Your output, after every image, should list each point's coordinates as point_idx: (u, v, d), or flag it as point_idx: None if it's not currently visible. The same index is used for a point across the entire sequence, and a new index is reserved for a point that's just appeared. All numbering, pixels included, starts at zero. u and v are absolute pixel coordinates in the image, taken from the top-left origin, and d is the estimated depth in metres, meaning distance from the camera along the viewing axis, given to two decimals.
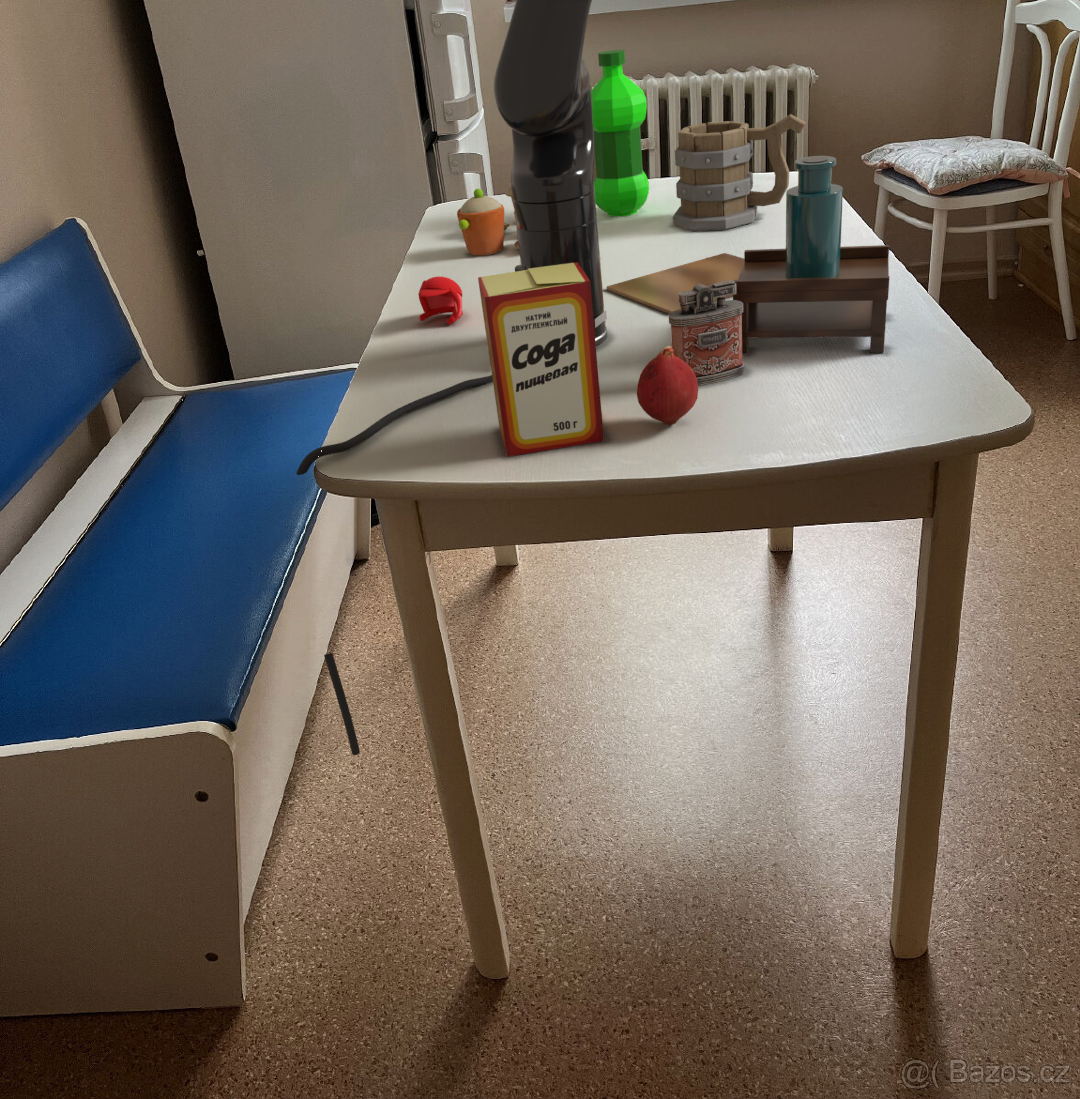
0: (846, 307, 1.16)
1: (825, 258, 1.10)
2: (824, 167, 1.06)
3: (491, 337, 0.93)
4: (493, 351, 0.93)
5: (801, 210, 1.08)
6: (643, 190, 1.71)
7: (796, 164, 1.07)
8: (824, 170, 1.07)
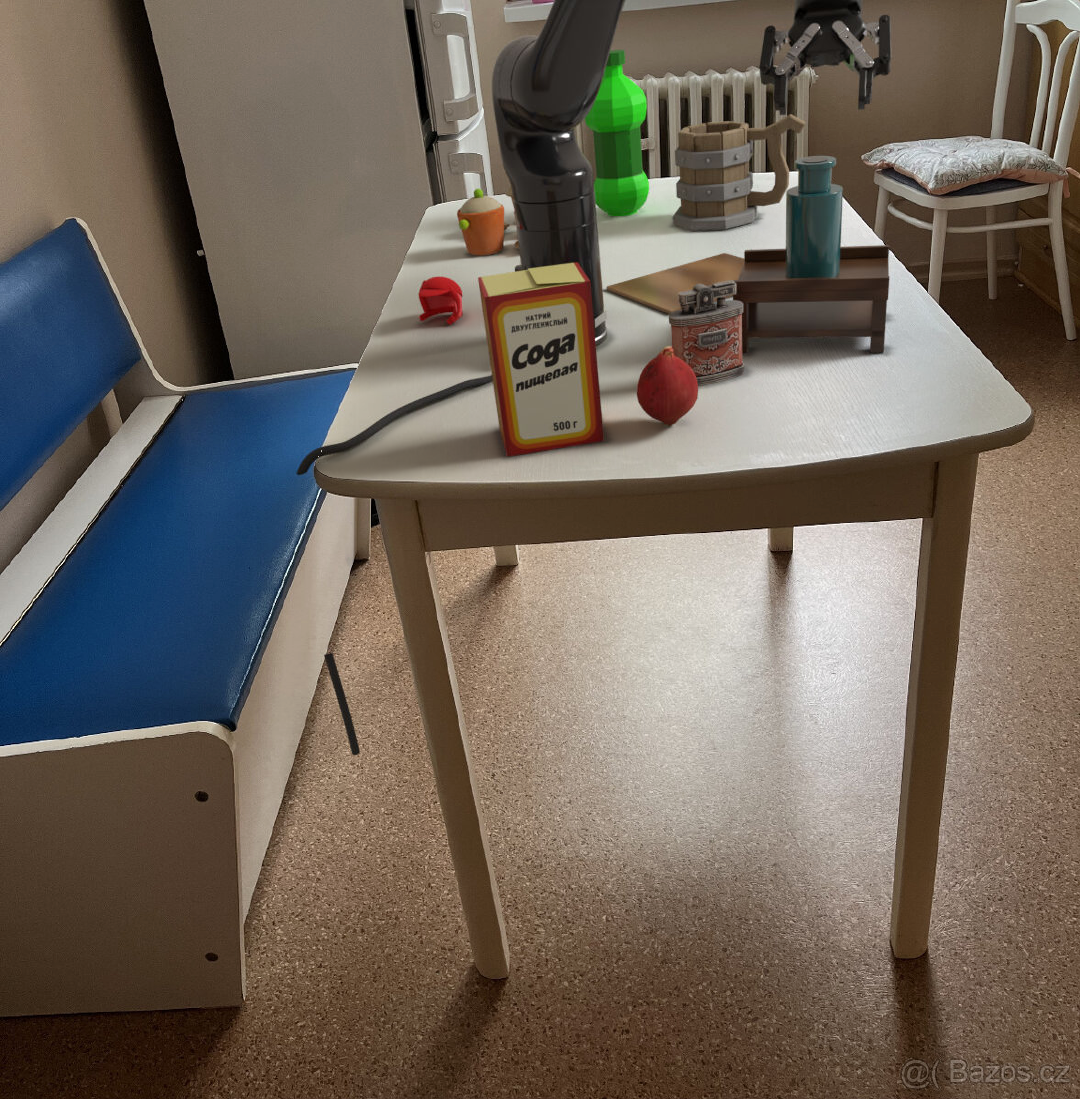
0: (846, 307, 1.16)
1: (825, 258, 1.10)
2: (824, 167, 1.06)
3: (491, 337, 0.93)
4: (493, 351, 0.93)
5: (801, 210, 1.08)
6: (643, 190, 1.71)
7: (796, 164, 1.07)
8: (824, 170, 1.07)
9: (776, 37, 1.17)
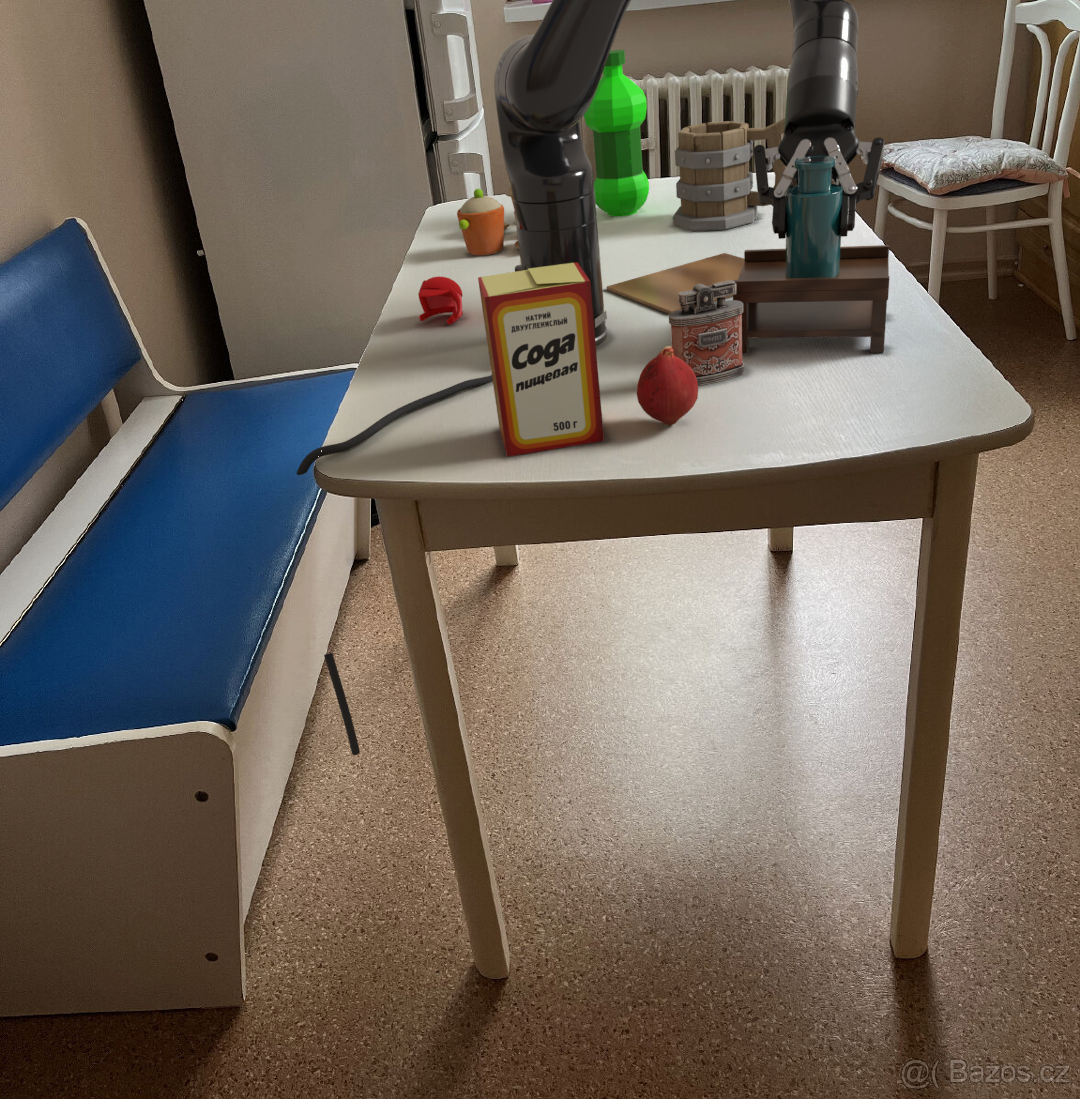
0: (846, 307, 1.16)
1: (825, 258, 1.10)
2: (824, 167, 1.06)
3: (491, 337, 0.93)
4: (493, 351, 0.93)
5: (801, 210, 1.08)
6: (643, 190, 1.71)
7: (796, 164, 1.07)
8: (824, 170, 1.07)
9: (767, 156, 1.12)
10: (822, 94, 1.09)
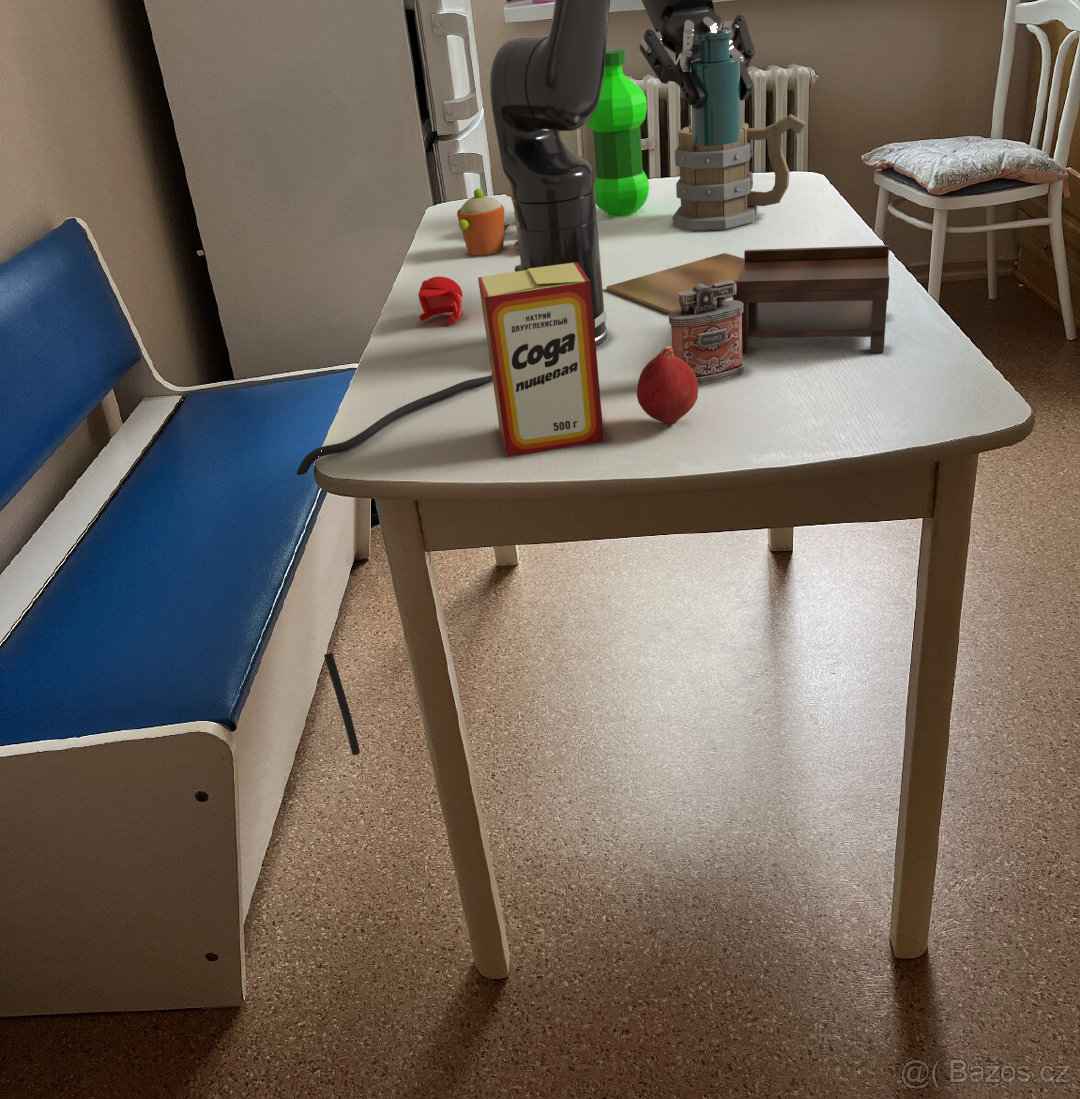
0: (846, 307, 1.16)
1: (737, 120, 1.24)
2: (730, 35, 1.19)
3: (491, 337, 0.93)
4: (493, 351, 0.93)
5: (719, 76, 1.20)
6: (643, 190, 1.71)
7: (705, 36, 1.19)
8: (728, 39, 1.20)
9: (660, 38, 1.22)
10: None
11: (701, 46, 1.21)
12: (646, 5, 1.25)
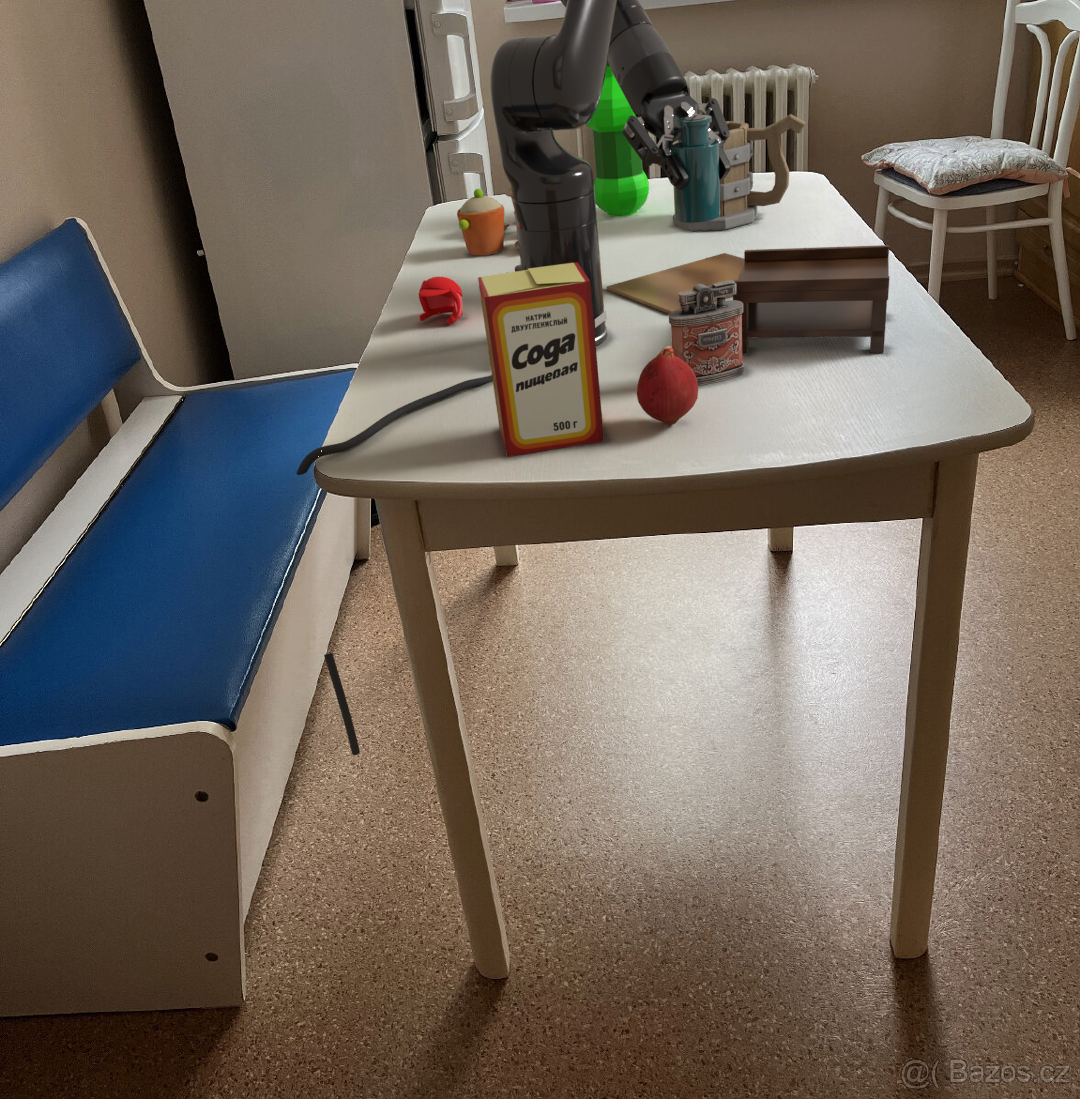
0: (846, 307, 1.16)
1: (717, 198, 1.31)
2: (710, 121, 1.26)
3: (491, 337, 0.93)
4: (493, 351, 0.93)
5: (701, 159, 1.27)
6: (643, 190, 1.71)
7: (686, 122, 1.26)
8: (707, 124, 1.27)
9: (642, 123, 1.28)
10: (668, 67, 1.29)
11: (682, 131, 1.27)
12: (625, 90, 1.32)
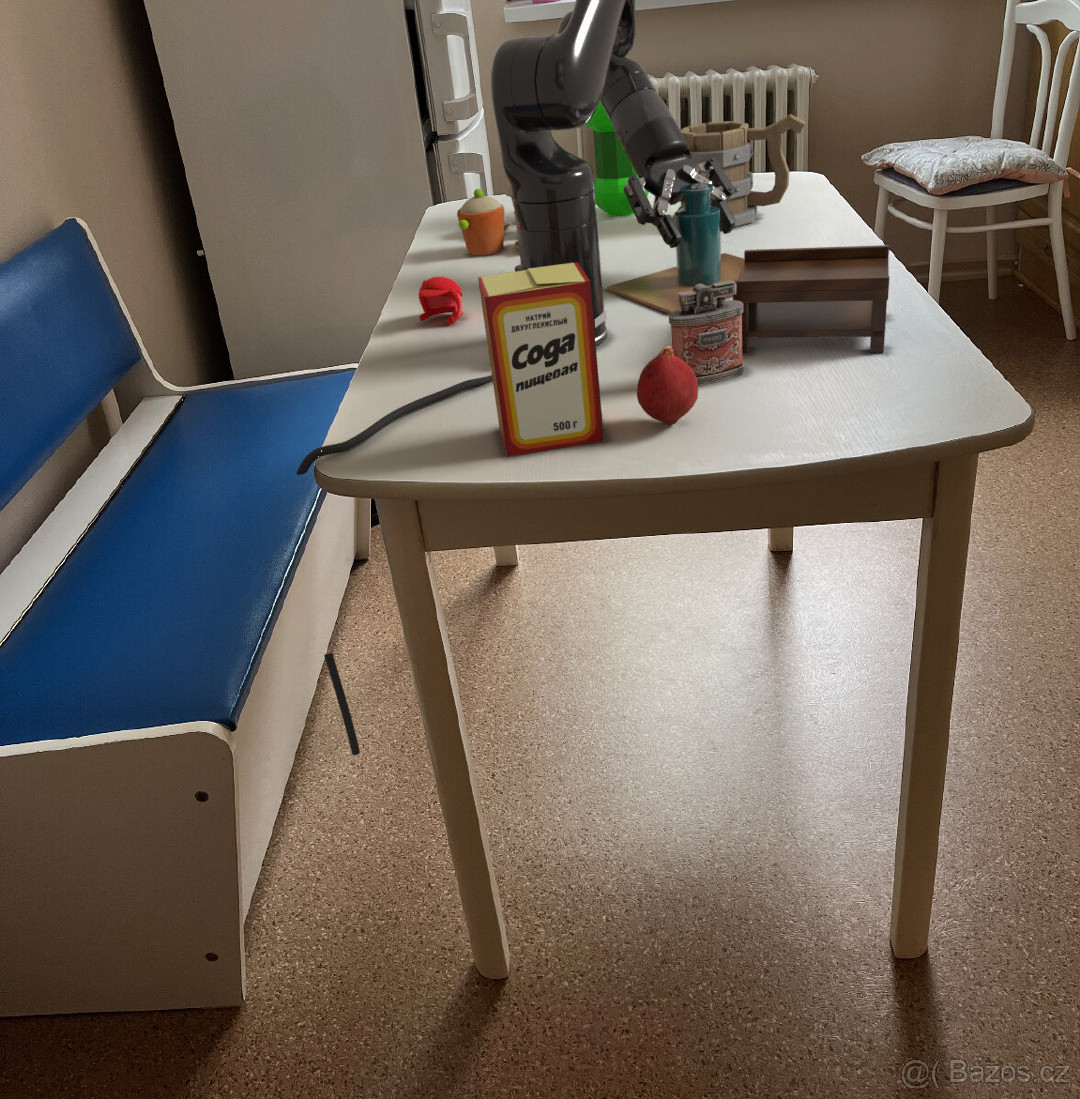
0: (846, 307, 1.16)
1: (719, 263, 1.35)
2: (711, 190, 1.31)
3: (491, 337, 0.93)
4: (493, 351, 0.93)
5: (703, 227, 1.31)
6: None
7: (689, 192, 1.30)
8: (709, 193, 1.31)
9: (642, 184, 1.32)
10: (670, 132, 1.33)
11: (685, 199, 1.32)
12: (628, 153, 1.36)
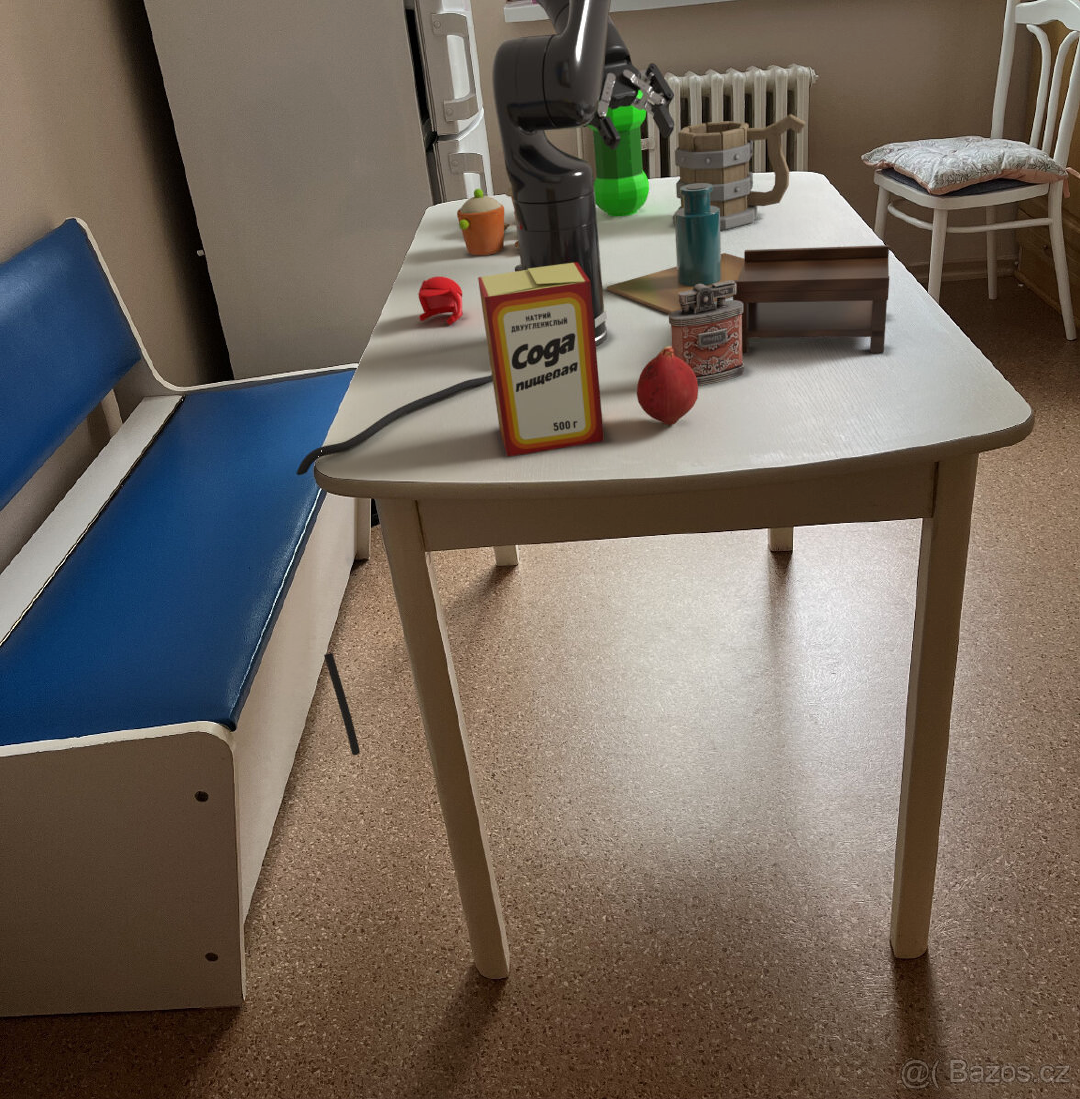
0: (846, 307, 1.16)
1: (719, 263, 1.35)
2: (711, 190, 1.31)
3: (491, 337, 0.93)
4: (493, 351, 0.93)
5: (703, 227, 1.31)
6: (643, 190, 1.71)
7: (689, 192, 1.30)
8: (709, 193, 1.31)
9: None
10: (611, 37, 1.37)
11: (685, 199, 1.32)
12: None
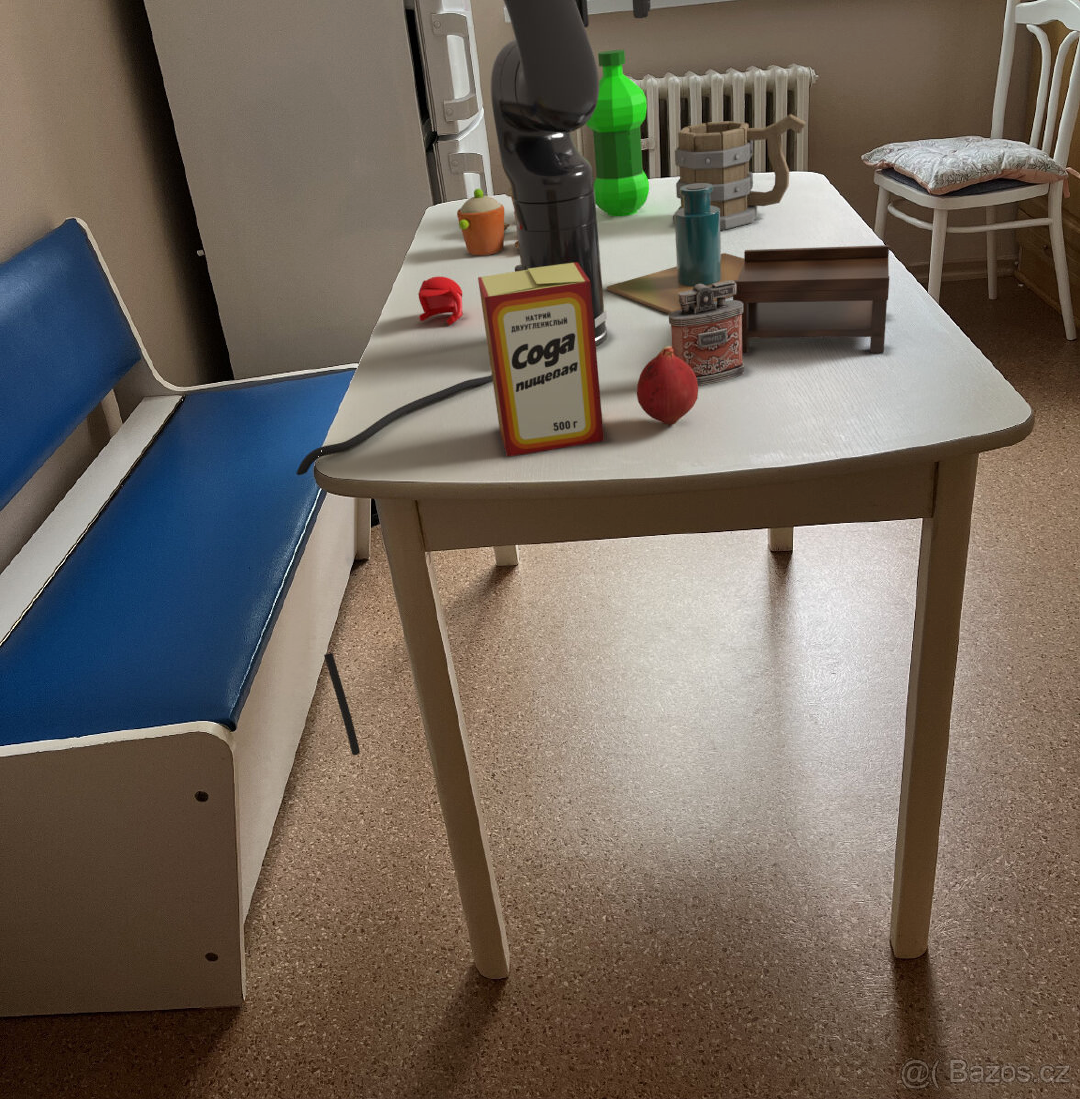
0: (846, 307, 1.16)
1: (719, 263, 1.35)
2: (711, 190, 1.31)
3: (491, 337, 0.93)
4: (493, 351, 0.93)
5: (703, 227, 1.31)
6: (643, 190, 1.71)
7: (689, 192, 1.30)
8: (709, 193, 1.31)
9: None
10: None
11: (685, 199, 1.32)
12: None
